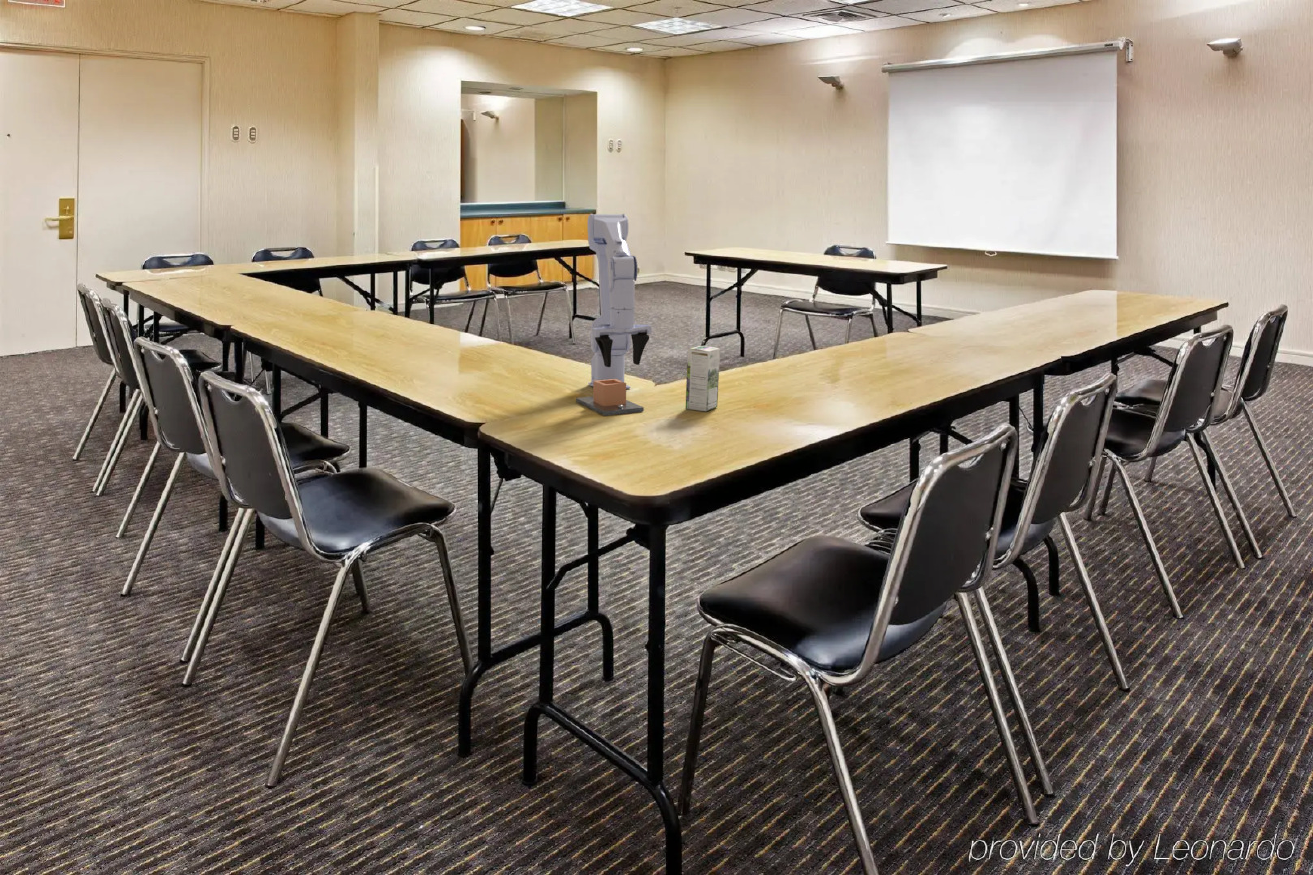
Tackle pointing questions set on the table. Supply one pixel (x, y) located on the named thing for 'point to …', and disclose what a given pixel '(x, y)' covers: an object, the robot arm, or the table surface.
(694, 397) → the syrup box
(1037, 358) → the table surface
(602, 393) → the collar
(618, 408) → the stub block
